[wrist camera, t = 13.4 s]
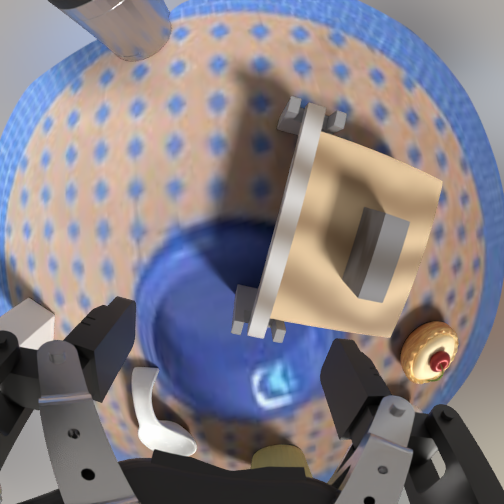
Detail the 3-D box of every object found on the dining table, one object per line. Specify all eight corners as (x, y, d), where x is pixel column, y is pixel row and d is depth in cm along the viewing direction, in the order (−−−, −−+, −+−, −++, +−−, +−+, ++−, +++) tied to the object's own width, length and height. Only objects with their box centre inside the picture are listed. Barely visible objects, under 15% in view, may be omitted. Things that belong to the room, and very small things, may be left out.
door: (305, 106, 26) (320, 88, 20) (439, 161, 27) (473, 161, 21) (247, 327, 32) (247, 360, 26) (377, 348, 33) (397, 376, 27)
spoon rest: (204, 447, 49) (200, 472, 42) (153, 443, 49) (146, 467, 42) (177, 365, 43) (167, 393, 36) (116, 363, 43) (100, 388, 36)
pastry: (453, 327, 43) (480, 349, 35) (418, 376, 45) (440, 402, 37) (422, 306, 41) (452, 330, 32) (382, 361, 43) (405, 392, 35)
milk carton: (54, 342, 42) (-1, 401, 24) (28, 325, 41) (-29, 375, 23) (55, 314, 41) (-8, 371, 22) (28, 296, 40) (-37, 343, 21)
